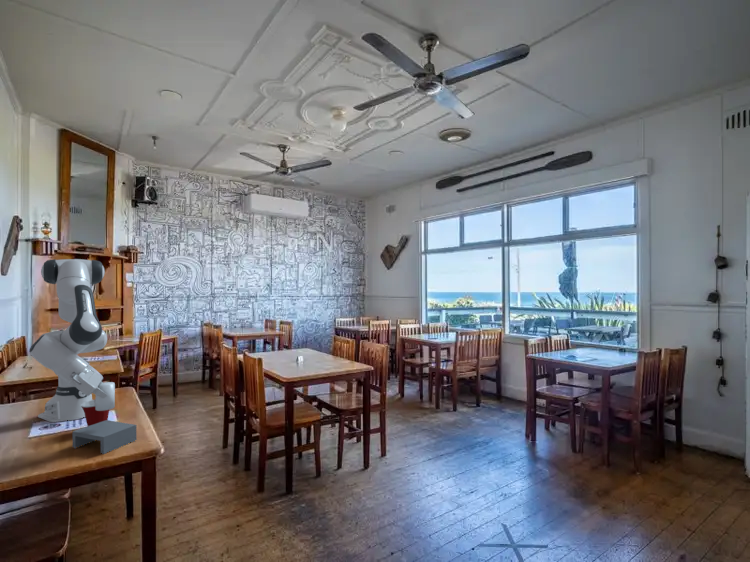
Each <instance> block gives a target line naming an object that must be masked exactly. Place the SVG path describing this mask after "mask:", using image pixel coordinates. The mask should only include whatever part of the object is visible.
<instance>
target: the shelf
mask: <svg viewBox="0 0 750 562" xmlns="http://www.w3.org/2000/svg"><path fill="white" fill-rule="evenodd" d="M95 440H97V441H100V454H101V453H102V454H101V455H106V454H108V453H110V452H113V451H114V449H115V450H116V449H117V450H118V449H120V448H122V447H124V446H123V445H125V446H127V445H129V444H128V443H130V442H132V443H134V442H136V441H135V440H137V424H132V423H128V422H127V423H125V422H120V421H115V420H105V421H102V422H99V423H96V424H93V425H90V426H88V425H87V426H85V427H82V428H78V429H75V430H73V431H72V448H73V447H74V448H73V449H77V448H76V447H78V448H80V447H79V446H81V445H83V446H85V445H84V444H86V445H88V444H87V443H89V442H91V443H93V442H92V441H94V442H96V441H95ZM133 441H134V442H133ZM89 444H90V443H89ZM126 444H127V445H126ZM130 444H131V443H130ZM121 446H122V447H121ZM81 447H82V446H81ZM119 447H120V448H119ZM112 450H113V451H112ZM109 451H110V452H109ZM107 452H108V453H107Z"/></svg>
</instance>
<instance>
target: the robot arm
mask: <svg viewBox="0 0 750 562" xmlns="http://www.w3.org/2000/svg"><path fill="white" fill-rule="evenodd" d="M105 270H106V269H105V267H104V265H103V263H102V262H101V261H100V260H95V259H90V260H89V259H83V258H82V259H81V258H74V259H70V258H67V259H65V258H64V259H48V260H45V262H44V263H43V264H42V266H41V269H40V274H41V277H42V279H43V281H44V282H46V284H50V285H56V295H57V298H58V316H59V318H60V319H61V320H63V321H65V322H67V323H70V325H69V326H67V328H66V329H64V330H54V331H53V330H52V331H49V332H46V333H43V334H41V335H40V336H39V338H38V339H37V340H36V341H35V342H34V343H33V344H32V345H31V346H30V347H29V354H30V355H31V357H32V358H34V359H35V361H37V362H38V363H39V364H40V365H42V366H43V367H44V368H46V369H49V370H51V371H52V372H53V373H54V374H55V376H57V377H58V380H57V381H58V386H55V387H54V390H56V391H55V394H54V395H53V396H52V397H51V398H50V399H48V401H47V402H45V406H44V412H42V413H39V414H38V415H37V417H38V418H39V419H42V420H45V421H46V422H49V423H58V422H66V421H67V420H68V421H75V420H78V419H80V420H81V419H84V418H85V413H84V410H83V408H82V407H81V404H83V403H85V402H87V401H91V400H93V395H95V396H96V395H98V396H100V397H101V398H105V397H106V396H107V393H106V392H103V391H102V390H100V388H98V385H99V384H100V383H104V382H103V380H104V377H103V375H102V374H101V373H100V372H99V371H98V370H97V369H96V368H94V367H93V366H92V365H90V364H91V363H90V361H88V360H87V359H83V358H82V357H81V356H79V354H84V353H91V352H96V351H100V350H102V349H104V348H105V346H106V345H107V343H108V334H107V332H105V330H103V327H102V324H101V322H100V321H99V318H98V314H97V309H96V304H95V302H96V301H95V296H94V292H93V290H92V289H91V287H93V286H94V285H96V284H99V283H100V282H102V281H103V279H104V276H105V275H106V274H105ZM92 394H93V395H92ZM83 417H84V418H83ZM68 421H67V422H68Z"/></svg>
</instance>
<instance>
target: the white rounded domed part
mask: <svg viewBox="0 0 750 562" xmlns="http://www.w3.org/2000/svg"><path fill="white" fill-rule="evenodd" d="M98 388H100V390H102V391H103V392H106V393H107V396H106V397H105V398H101V397H100V396H98V395H95V399H96V402H95V410H97V411H104V410H109V411H110V410H113V409H114V408H115V407H116V405H115V404H116V403H115V401H116V400H115V399H116V398H115V397H116V393H115V390H116V384H115V382H113V381H109V382H108V381H107V382H106V381H105V382H103V383H100V384H99V385H98Z"/></svg>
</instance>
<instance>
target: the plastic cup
mask: <svg viewBox="0 0 750 562" xmlns="http://www.w3.org/2000/svg"><path fill="white" fill-rule="evenodd" d="M95 402H96V398H95V399H92V400H91V401H87V402H85V403H83V404H81V407H82V408H83V410H84V413H85V417H84V418H85V422H86V424H87V426H90V425H93V424H96V423H99V422H102V421H105V420H108V419H109V415H110V410H104V411H97V410H95Z"/></svg>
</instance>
